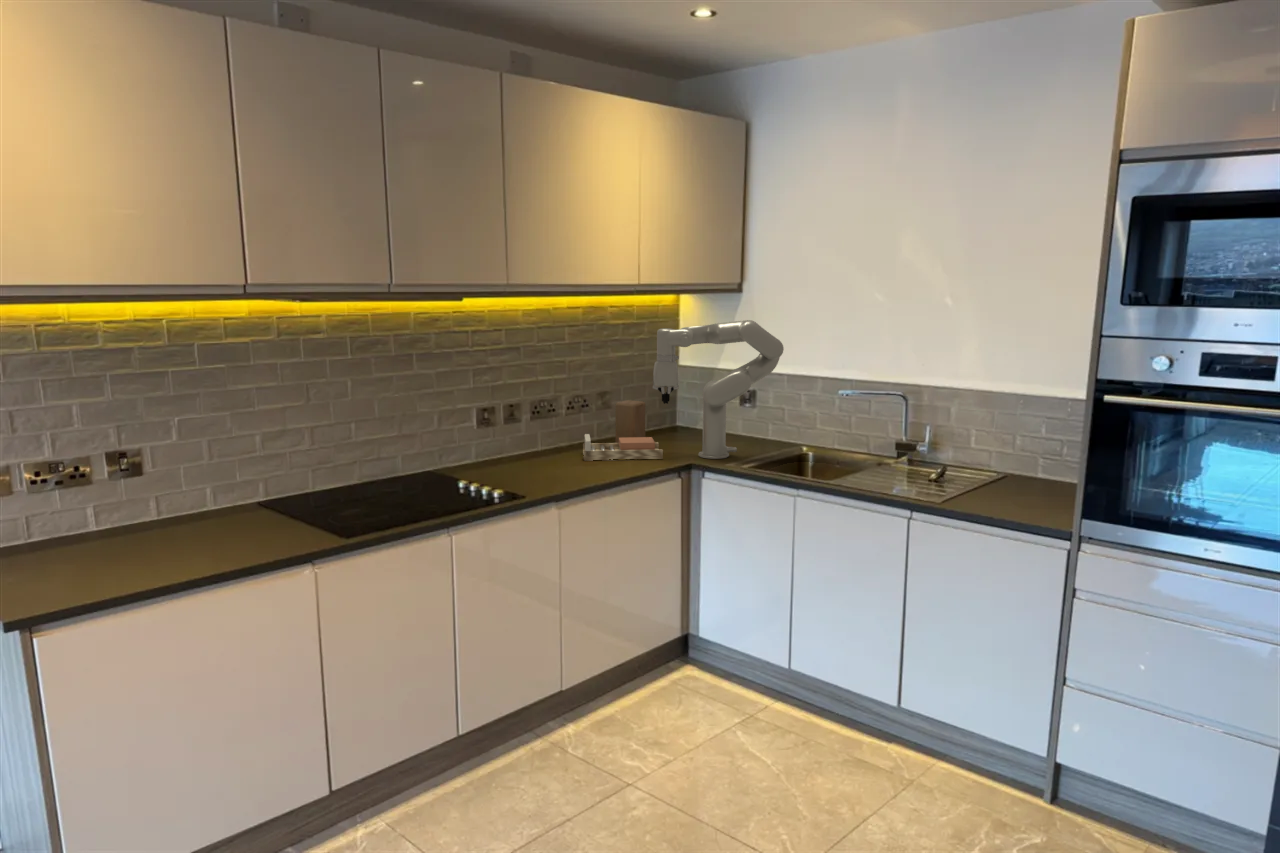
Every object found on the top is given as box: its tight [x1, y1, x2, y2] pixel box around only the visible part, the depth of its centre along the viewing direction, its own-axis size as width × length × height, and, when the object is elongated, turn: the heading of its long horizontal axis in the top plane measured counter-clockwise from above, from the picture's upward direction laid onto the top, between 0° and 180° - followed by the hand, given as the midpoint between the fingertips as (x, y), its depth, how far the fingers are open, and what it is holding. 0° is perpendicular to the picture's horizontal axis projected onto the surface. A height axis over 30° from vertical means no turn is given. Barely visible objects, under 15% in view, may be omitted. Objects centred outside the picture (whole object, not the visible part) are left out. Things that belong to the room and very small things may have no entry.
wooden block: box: [615, 399, 646, 443], centre depth 360 cm, size 10×10×20 cm
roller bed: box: [582, 441, 664, 462], centre depth 342 cm, size 32×16×4 cm, turn 95°
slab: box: [619, 436, 656, 450], centre depth 342 cm, size 14×12×3 cm
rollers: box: [591, 445, 621, 450], centre depth 342 cm, size 26×14×2 cm, turn 95°
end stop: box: [584, 433, 592, 456], centre depth 340 cm, size 2×16×6 cm, turn 5°
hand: (665, 403), depth 340 cm, fingers closed
